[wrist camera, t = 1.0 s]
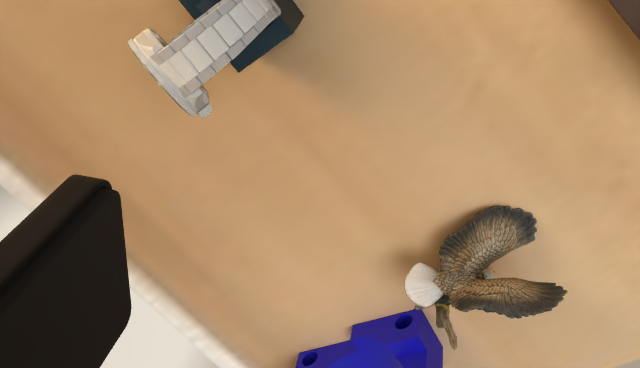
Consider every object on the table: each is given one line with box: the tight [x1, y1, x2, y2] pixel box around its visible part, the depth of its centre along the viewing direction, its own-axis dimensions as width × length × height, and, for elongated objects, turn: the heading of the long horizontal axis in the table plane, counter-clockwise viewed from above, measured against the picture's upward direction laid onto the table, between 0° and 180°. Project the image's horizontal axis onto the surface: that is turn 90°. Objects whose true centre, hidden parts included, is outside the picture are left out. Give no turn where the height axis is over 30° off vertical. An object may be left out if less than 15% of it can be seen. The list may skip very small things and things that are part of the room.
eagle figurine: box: [404, 206, 567, 350], centre depth 42 cm, size 8×7×9 cm
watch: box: [128, 0, 304, 118], centre depth 33 cm, size 6×8×11 cm
